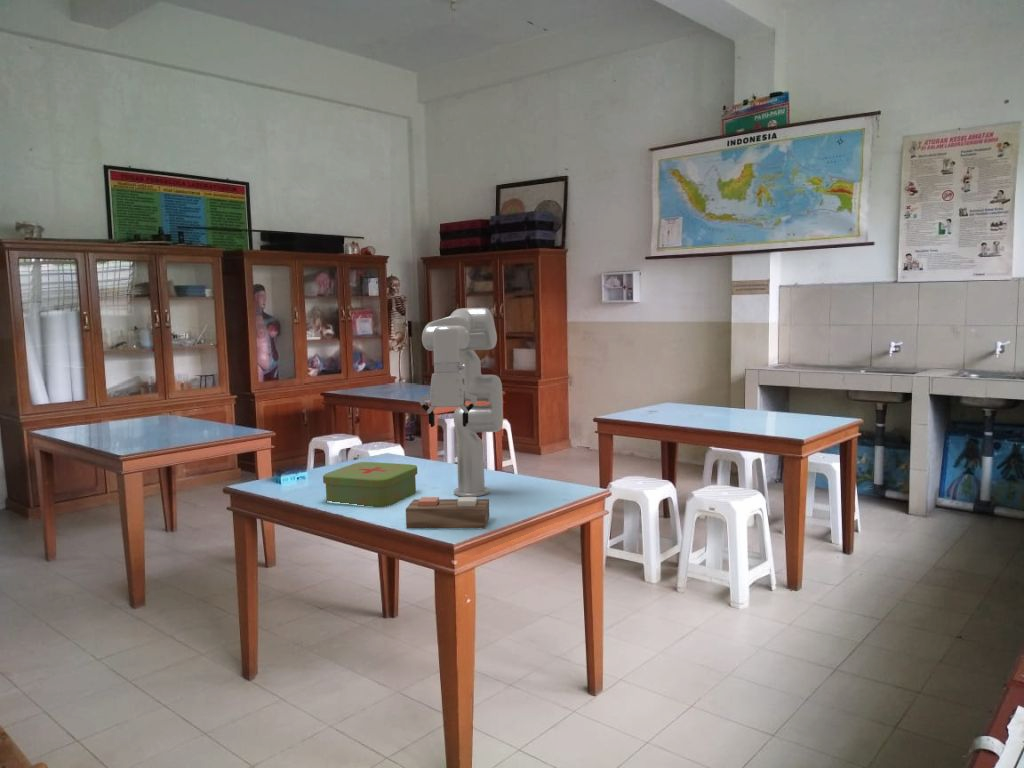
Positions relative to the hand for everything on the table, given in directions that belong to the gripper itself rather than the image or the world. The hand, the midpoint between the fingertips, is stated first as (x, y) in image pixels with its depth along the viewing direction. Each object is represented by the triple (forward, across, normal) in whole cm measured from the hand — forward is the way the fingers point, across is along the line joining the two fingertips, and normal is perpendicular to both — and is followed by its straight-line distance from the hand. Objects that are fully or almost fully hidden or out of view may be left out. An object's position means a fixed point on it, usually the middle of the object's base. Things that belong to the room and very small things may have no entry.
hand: (448, 426), depth 225 cm
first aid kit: (+31, +35, -40) cm, 62 cm away
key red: (+28, +8, -6) cm, 30 cm away
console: (+31, +2, -6) cm, 32 cm away
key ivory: (+28, -4, -6) cm, 29 cm away
